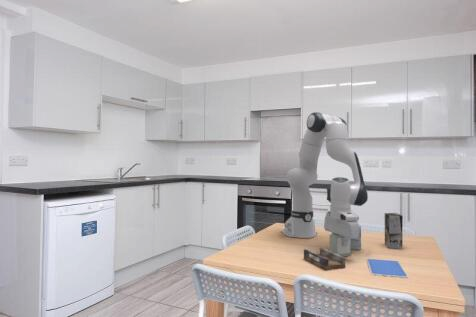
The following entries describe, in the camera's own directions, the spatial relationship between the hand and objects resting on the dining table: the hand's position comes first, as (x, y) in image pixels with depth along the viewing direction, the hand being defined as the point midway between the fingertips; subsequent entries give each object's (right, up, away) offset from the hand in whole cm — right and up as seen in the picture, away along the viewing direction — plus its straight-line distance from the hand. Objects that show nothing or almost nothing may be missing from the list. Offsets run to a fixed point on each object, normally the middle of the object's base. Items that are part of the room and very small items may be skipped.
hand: (340, 244), depth 145 cm
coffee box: (+32, -5, +16) cm, 36 cm away
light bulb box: (+9, -5, +14) cm, 17 cm away
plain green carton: (0, -5, 0) cm, 5 cm away
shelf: (-11, -5, -12) cm, 16 cm away
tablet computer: (+12, -5, -18) cm, 22 cm away
